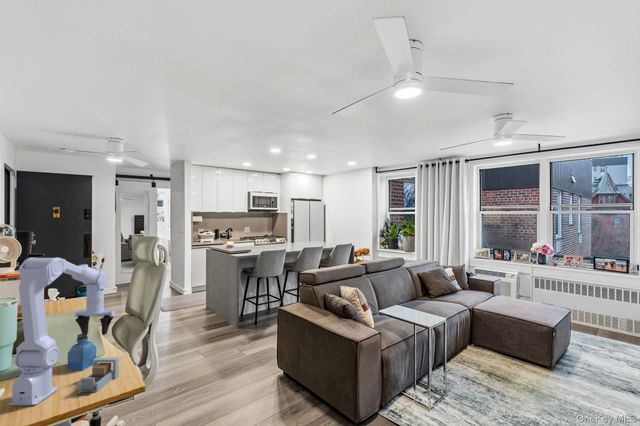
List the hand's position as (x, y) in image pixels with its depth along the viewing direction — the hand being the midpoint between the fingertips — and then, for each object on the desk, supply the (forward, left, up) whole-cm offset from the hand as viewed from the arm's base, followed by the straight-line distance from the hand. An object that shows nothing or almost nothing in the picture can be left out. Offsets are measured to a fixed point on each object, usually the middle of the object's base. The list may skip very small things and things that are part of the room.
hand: (94, 334), depth 128 cm
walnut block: (-17, -14, -9) cm, 23 cm away
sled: (-17, -14, -10) cm, 23 cm away
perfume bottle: (-6, +1, -10) cm, 12 cm away
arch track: (-18, -14, -10) cm, 24 cm away
